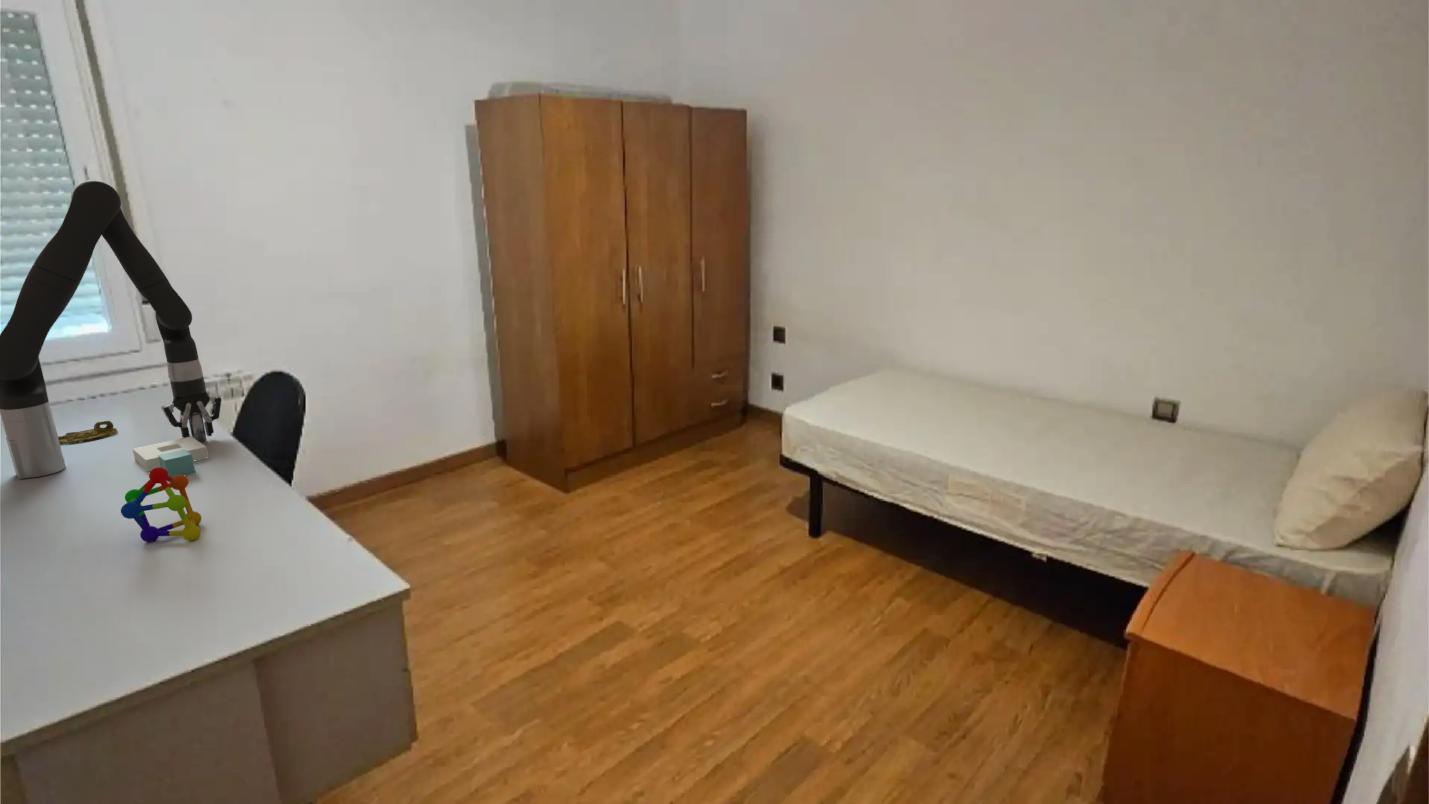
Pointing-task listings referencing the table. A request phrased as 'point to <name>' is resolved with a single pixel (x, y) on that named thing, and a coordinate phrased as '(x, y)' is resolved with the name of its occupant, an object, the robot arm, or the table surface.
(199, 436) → the peg
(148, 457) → the board
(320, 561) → the table surface
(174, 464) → the frosted teal cube
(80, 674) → the table surface
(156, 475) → the educational toy
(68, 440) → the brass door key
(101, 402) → the table surface
